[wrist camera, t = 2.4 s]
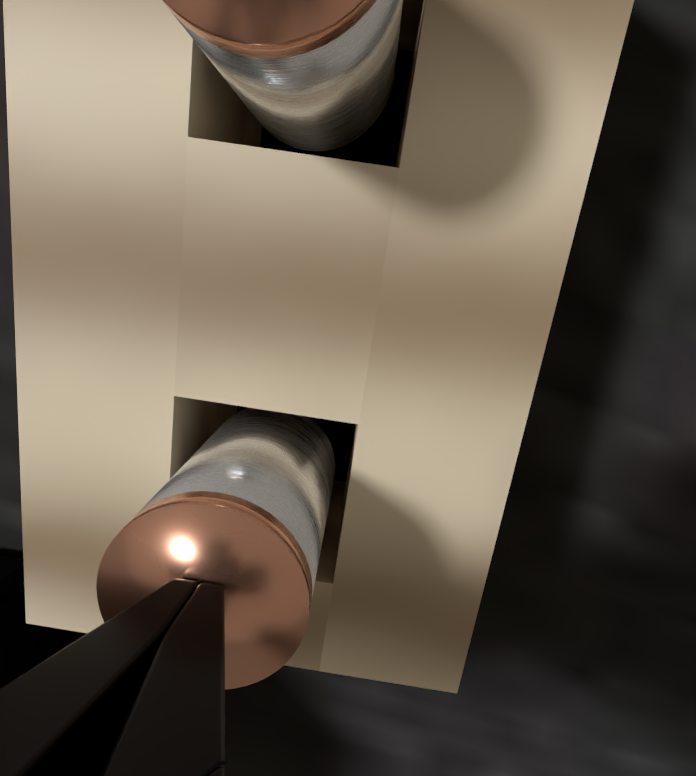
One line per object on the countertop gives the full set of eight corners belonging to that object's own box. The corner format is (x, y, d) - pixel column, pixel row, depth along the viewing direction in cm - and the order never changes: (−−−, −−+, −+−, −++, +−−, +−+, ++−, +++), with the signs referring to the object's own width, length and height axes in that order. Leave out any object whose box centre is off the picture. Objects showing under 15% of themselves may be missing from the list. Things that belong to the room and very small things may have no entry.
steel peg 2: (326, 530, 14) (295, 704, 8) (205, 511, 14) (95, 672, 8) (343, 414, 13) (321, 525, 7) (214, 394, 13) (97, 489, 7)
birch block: (431, 560, 19) (457, 693, 13) (133, 513, 19) (25, 623, 13) (562, -41, 14) (703, -269, 8) (151, -99, 14) (-11, -364, 8)
